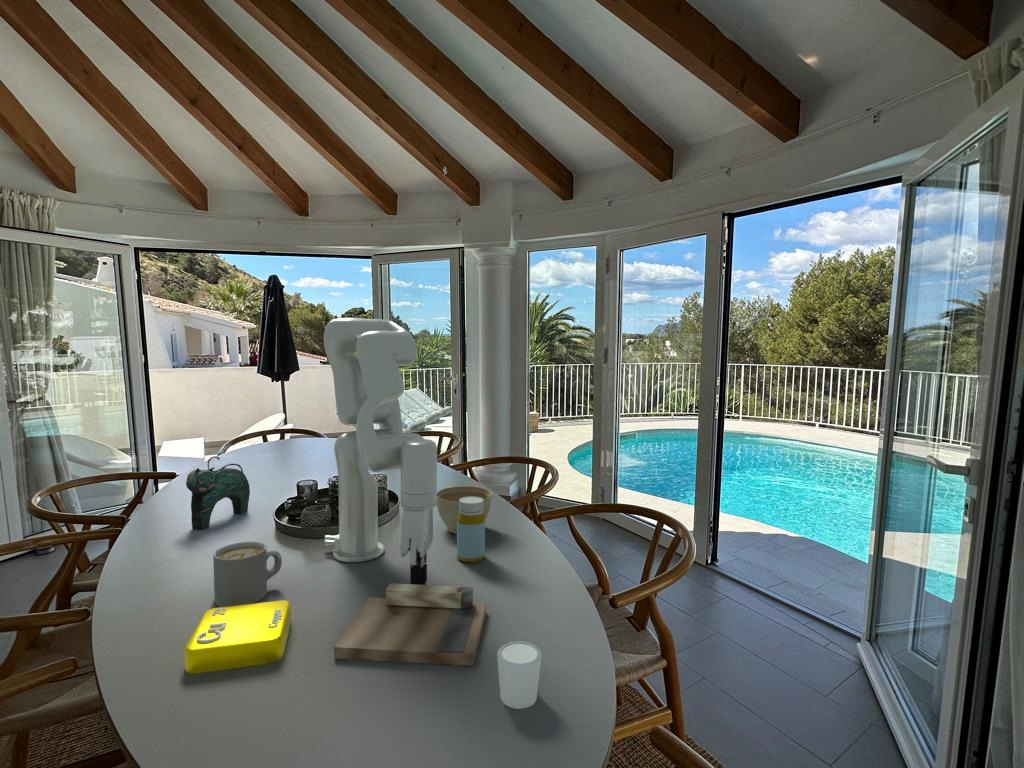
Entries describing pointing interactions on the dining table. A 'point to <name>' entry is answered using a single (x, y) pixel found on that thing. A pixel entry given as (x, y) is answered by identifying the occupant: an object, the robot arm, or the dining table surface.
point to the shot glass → (519, 673)
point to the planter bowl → (450, 503)
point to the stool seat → (413, 634)
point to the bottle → (471, 529)
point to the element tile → (238, 637)
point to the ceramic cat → (216, 492)
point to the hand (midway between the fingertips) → (418, 583)
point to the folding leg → (429, 596)
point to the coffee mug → (242, 573)
